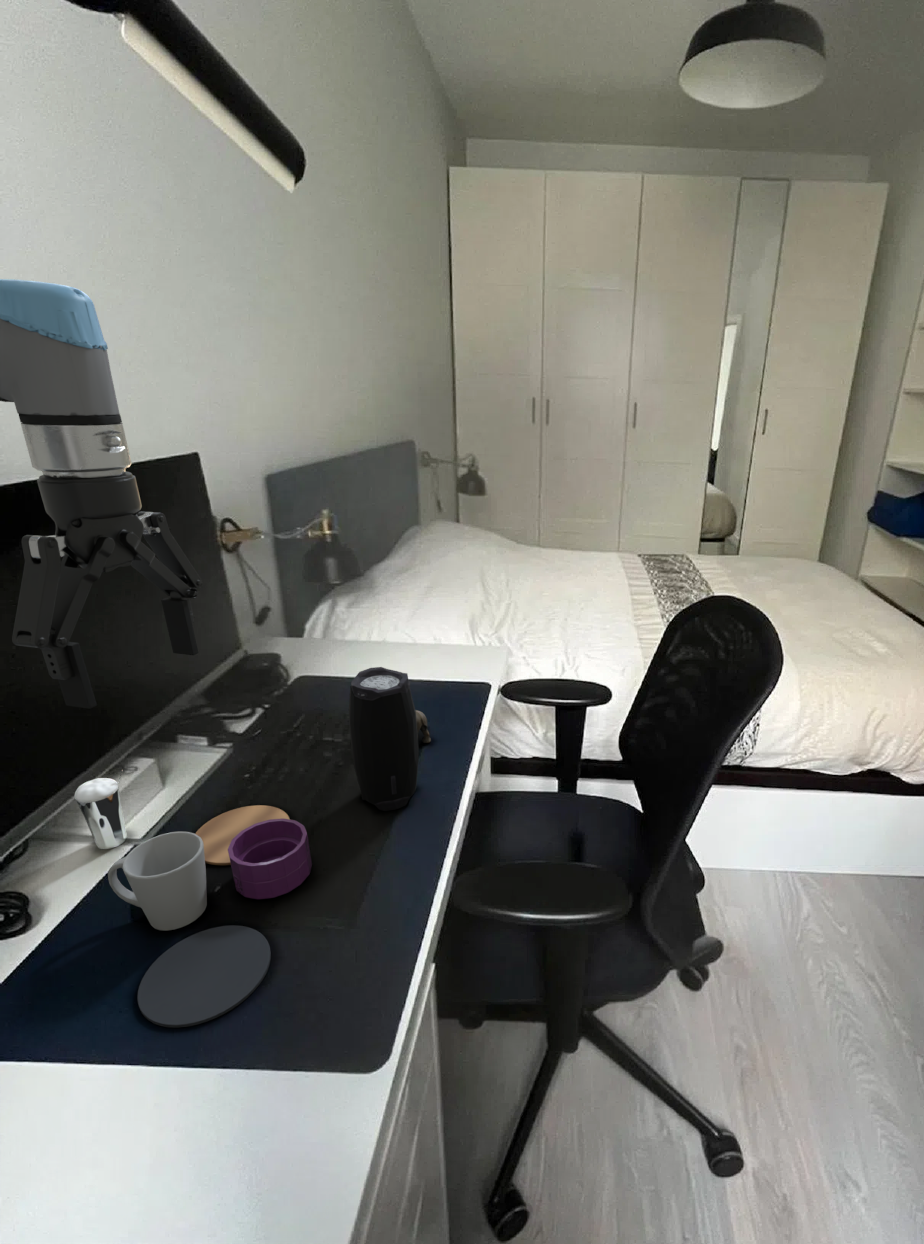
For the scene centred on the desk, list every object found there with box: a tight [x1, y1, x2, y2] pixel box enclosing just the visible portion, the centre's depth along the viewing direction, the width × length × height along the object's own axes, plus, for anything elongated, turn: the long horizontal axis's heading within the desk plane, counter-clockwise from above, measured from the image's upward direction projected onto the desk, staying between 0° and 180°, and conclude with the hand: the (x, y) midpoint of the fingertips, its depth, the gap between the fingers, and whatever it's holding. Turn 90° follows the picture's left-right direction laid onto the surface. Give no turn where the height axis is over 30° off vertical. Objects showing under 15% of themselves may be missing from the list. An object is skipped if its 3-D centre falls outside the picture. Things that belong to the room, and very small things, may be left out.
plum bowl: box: [228, 818, 313, 900], centre depth 77 cm, size 9×9×6 cm
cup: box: [107, 831, 208, 931], centre depth 70 cm, size 8×10×8 cm
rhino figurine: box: [415, 709, 432, 744], centre depth 110 cm, size 4×14×6 cm, turn 62°
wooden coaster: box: [194, 804, 290, 866], centre depth 85 cm, size 12×12×1 cm
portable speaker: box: [348, 666, 420, 812], centre depth 90 cm, size 9×9×20 cm
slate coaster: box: [136, 924, 272, 1029], centre depth 65 cm, size 12×12×1 cm
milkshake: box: [74, 769, 128, 850], centre depth 81 cm, size 4×5×10 cm
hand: (138, 677), depth 67 cm, fingers open, 13 cm apart
